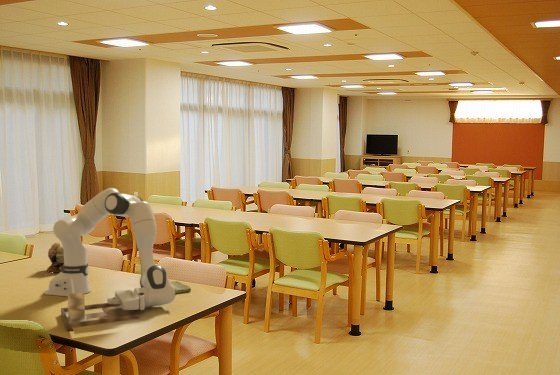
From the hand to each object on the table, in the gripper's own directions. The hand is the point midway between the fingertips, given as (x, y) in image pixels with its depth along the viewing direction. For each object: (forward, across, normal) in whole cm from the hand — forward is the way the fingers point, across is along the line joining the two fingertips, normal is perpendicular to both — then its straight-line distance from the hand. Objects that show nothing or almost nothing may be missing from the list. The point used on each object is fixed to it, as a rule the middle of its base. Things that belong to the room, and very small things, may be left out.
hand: (107, 301), depth 251 cm
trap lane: (+3, 0, +7) cm, 8 cm away
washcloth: (-38, -32, +8) cm, 50 cm away
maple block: (+13, 0, +6) cm, 14 cm away
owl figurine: (+11, -100, +8) cm, 101 cm away
